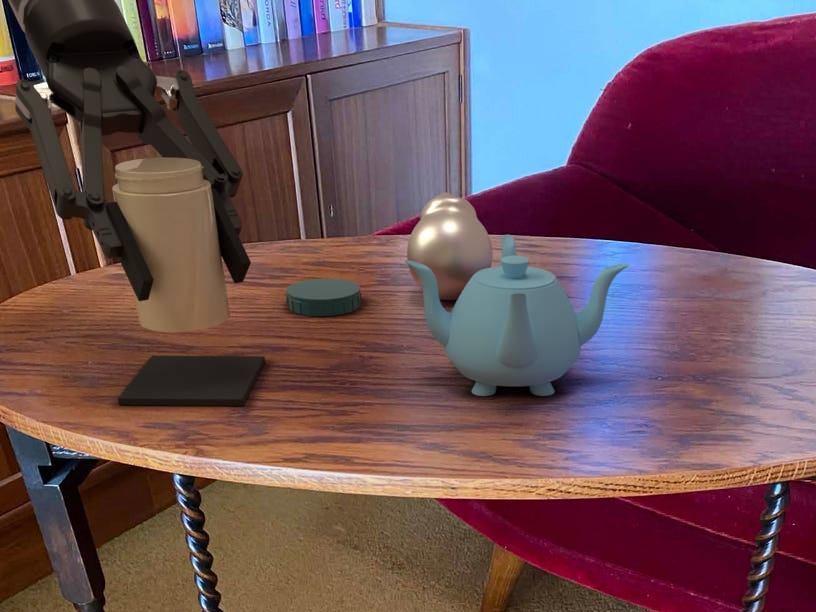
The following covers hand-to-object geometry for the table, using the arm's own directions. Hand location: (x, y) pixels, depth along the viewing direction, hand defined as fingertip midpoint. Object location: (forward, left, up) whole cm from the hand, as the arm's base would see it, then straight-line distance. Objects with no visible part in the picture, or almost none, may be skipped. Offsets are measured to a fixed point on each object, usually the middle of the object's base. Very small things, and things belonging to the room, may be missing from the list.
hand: (195, 281), depth 74 cm
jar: (-2, +3, -4) cm, 5 cm away
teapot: (+25, +4, -9) cm, 27 cm away
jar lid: (+6, +25, -8) cm, 27 cm away
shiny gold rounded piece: (+19, +28, -9) cm, 35 cm away
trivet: (-2, +3, -9) cm, 10 cm away
